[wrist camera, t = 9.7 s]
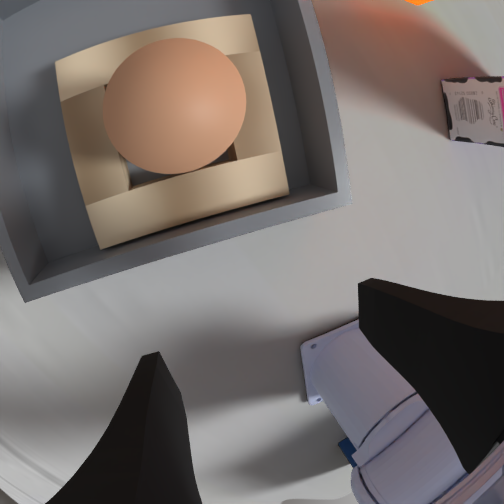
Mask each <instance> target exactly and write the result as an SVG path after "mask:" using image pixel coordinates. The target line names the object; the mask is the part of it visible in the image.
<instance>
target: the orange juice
mask: <svg viewBox="0 0 504 504" xmlns="http://www.w3.org/2000/svg"><path fill="white" fill-rule="evenodd" d="M405 1H408V2H410V3H413V4H415V5H421V4H424V3H426V2H430V1H433V0H405Z"/></svg>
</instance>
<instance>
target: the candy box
mask: <svg viewBox="0 0 504 504" xmlns="http://www.w3.org/2000/svg"><path fill="white" fill-rule="evenodd" d="M441 82H442V86H443V93H444V98H445V103H446V109H447V116H448V125H449V132H450V139H451V140H452V141H462V142H472V143H479V144H487V145H494V146H501V147H504V76H501V77H467V78H452V79H443V80H441Z"/></svg>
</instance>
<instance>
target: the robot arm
mask: <svg viewBox="0 0 504 504" xmlns="http://www.w3.org/2000/svg"><path fill="white" fill-rule="evenodd" d="M358 300H359V319H358V320H356V321H353V322H351V323H349V324H347V325H344V326H342V327H340V328H337V329H335V330H333V331H330V332H328V333H326V334H323V335H321V336H318V337H316V338H313V339H311V340H308V341H306V342H304V343H303V344H302V345H301V347H300V350H301V357H302V363H303V370H304V378H305V385H306V392H307V400H308V403H309V404H310V405H315V404H317V403H319V402H322V401H324V402H325V404H326V405H327V407H328V408H329V410H330V411H331V413H332V414H333V416H334V417H335V419H336V420H337V422H338V423H339V425H340V426H341V428H342V429H343V431H344V432H345V434H346V435H347V437H348V438H349V439H350V441H351V442H352V444H353V445H354V447H355V448H356V450H357V451H356V452H355V453H354V454H352V457H353V459H354V460H355V462H356V463H357V466H356V467H354V468H353V470H352V472H351V488H352V491H353V493H354V496H355V497H356V499H357V501H358V503H359V504H504V301H486V300H474V299H465V298H458V297H452V296H447V295H442V294H437V293H432V292H428V291H424V290H420V289H416V288H412V287H408V286H404V285H400V284H397V283H393V282H389V281H384V280H380V279H374V278H370V279H368V280H365V281H363V282H360V283H358ZM313 344H314V345H313ZM312 345H313V346H312ZM45 504H202V501H201V498H200V495H199V491H198V488H197V484H196V480H195V476H194V471H193V464H192V457H191V450H190V442H189V434H188V426H187V418H186V414H185V409H184V405H183V401H182V397H181V392H180V391H179V389H178V387H177V385H176V383H175V381H174V380H173V378H172V376H171V374H170V372H169V370H168V368H167V366H166V364H165V362H164V360H163V358H162V356H161V354H160V352H159V351H158V352H155V353H151V354H147V355H144V356H142V357H141V359H140V361H139V363H138V366H137V368H136V370H135V372H134V374H133V377H132V379H131V381H130V383H129V386H128V388H127V390H126V392H125V394H124V396H123V398H122V401H121V403H120V405H119V407H118V409H117V411H116V412H115V414H114V416H113V418H112V420H111V422H110V424H109V426H108V427H107V429H106V431H105V432H104V434H103V436H102V437H101V439H100V440H99V442H98V443H97V445H96V446H95V448H94V449H93V451H92V452H91V454H90V455H89V456H88V458H87V459H86V460H85V461H84V463H83V464H82V465H81V467H80V468H79V469H78V470H77V472H76V473H75V474H74V475H73V477H72V478H71V479H70V480H69V481H68V482H67V483H66V484H65V485H64V486H63V487H62V488H61V489H60V490H59V491H58V492H57V493H56V494H55V495H54V496H53V497H52V498H51V499H50V500H49V501H48V502H47V503H45Z"/></svg>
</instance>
